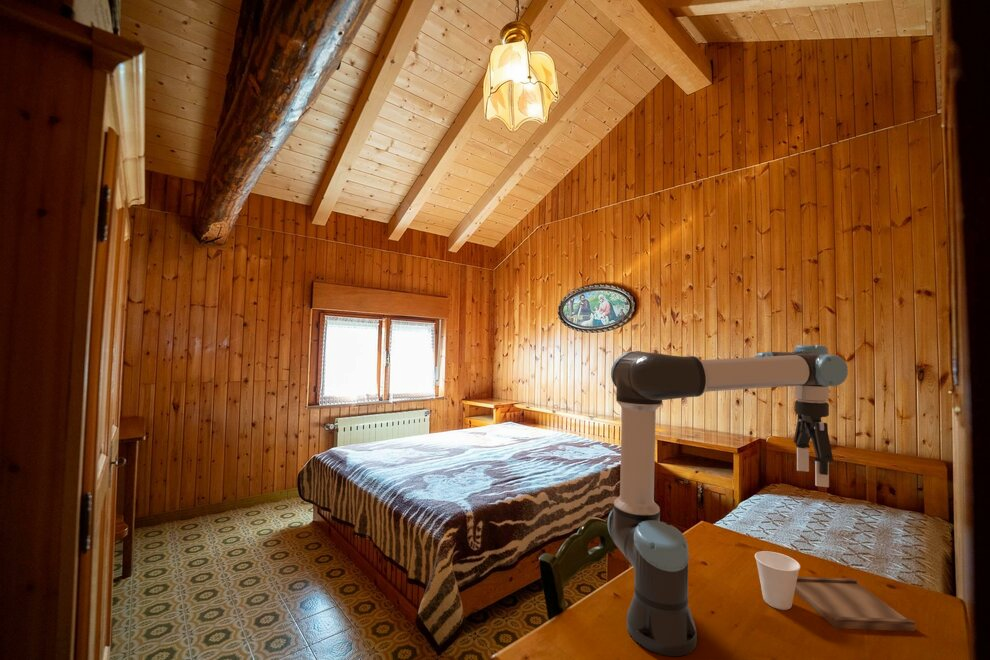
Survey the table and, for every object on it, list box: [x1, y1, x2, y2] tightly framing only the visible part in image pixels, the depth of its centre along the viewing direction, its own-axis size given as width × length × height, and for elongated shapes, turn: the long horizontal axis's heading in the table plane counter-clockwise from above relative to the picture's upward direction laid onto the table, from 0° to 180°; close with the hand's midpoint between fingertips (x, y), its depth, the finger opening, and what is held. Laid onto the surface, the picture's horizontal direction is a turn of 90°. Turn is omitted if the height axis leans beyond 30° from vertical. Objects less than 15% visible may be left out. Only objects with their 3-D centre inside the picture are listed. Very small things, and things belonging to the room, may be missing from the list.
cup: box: [754, 550, 801, 611], centre depth 110 cm, size 10×10×11 cm
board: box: [794, 576, 916, 632], centre depth 109 cm, size 18×18×2 cm
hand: (811, 478), depth 117 cm, fingers open, 13 cm apart
